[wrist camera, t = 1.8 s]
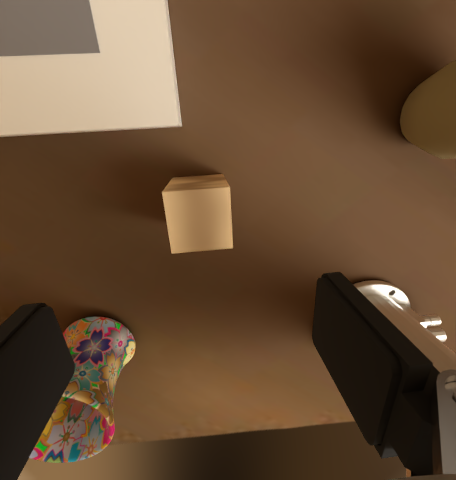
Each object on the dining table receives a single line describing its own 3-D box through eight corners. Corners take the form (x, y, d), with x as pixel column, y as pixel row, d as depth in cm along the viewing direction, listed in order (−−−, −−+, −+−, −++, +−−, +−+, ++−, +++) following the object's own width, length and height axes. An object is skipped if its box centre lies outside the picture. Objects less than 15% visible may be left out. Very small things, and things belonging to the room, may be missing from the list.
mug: (54, 310, 29) (-21, 398, 19) (136, 307, 30) (104, 390, 20) (75, 383, 34) (23, 484, 24) (146, 378, 35) (123, 474, 25)
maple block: (222, 174, 25) (230, 187, 19) (225, 221, 27) (233, 248, 21) (172, 177, 25) (161, 192, 18) (179, 225, 27) (171, 253, 20)
